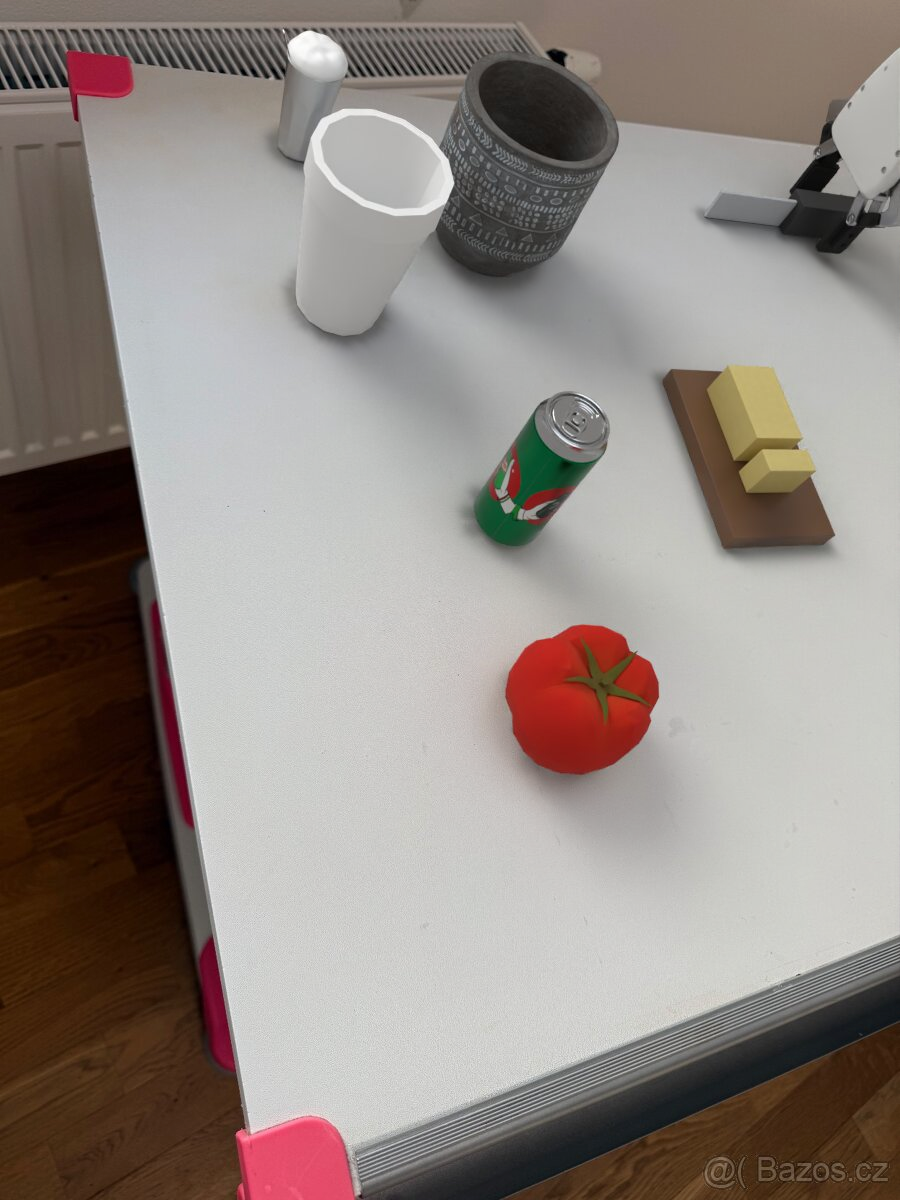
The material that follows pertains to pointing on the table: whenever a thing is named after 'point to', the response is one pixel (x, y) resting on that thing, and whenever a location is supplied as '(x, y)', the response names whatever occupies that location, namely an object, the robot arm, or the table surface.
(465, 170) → the planter
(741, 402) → the butter stick
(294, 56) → the milkshake
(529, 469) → the soda can
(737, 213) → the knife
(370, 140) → the foam cup
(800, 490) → the board
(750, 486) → the butter pat
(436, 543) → the table surface
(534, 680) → the tomato
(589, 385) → the table surface
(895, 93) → the robot arm
